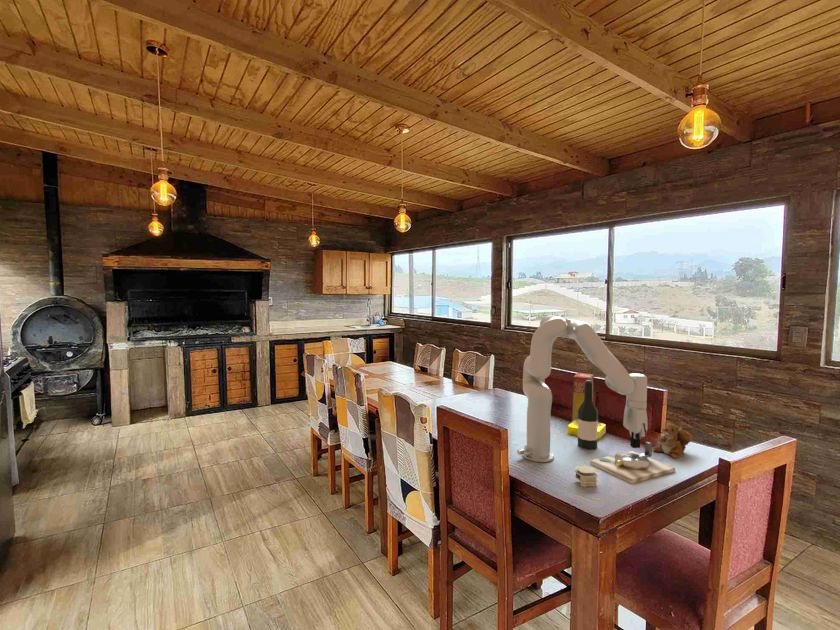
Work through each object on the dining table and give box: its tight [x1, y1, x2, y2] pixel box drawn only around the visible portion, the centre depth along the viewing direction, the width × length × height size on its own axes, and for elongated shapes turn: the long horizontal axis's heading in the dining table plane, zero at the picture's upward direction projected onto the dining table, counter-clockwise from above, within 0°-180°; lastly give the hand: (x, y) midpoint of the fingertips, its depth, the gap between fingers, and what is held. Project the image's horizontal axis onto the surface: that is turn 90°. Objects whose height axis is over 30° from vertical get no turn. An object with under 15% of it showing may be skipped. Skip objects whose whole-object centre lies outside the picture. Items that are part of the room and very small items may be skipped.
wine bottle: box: [577, 380, 599, 451], centre depth 183 cm, size 8×8×30 cm
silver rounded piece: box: [614, 441, 653, 470], centre depth 162 cm, size 19×12×7 cm, turn 114°
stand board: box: [589, 450, 676, 484], centre depth 161 cm, size 24×19×2 cm
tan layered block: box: [574, 465, 599, 488], centre depth 148 cm, size 10×9×6 cm
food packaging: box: [571, 372, 595, 422], centre depth 221 cm, size 13×9×25 cm
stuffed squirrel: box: [652, 421, 693, 459], centre depth 176 cm, size 10×14×13 cm
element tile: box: [567, 419, 607, 441], centre depth 202 cm, size 15×15×5 cm
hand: (635, 447), depth 171 cm, fingers closed
